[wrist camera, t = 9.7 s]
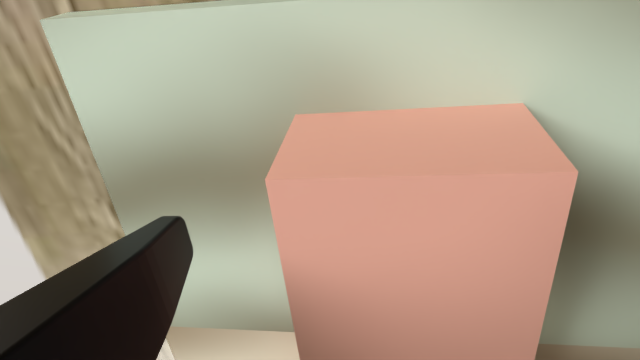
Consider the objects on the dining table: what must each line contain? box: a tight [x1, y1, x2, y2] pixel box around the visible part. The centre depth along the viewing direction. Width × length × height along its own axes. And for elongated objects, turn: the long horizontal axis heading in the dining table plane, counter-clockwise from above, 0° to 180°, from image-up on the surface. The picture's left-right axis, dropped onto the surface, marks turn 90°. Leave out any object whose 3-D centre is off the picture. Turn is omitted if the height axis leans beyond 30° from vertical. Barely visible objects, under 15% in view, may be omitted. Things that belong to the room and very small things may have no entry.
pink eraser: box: [265, 103, 578, 360], centre depth 11 cm, size 10×5×3 cm, turn 6°
